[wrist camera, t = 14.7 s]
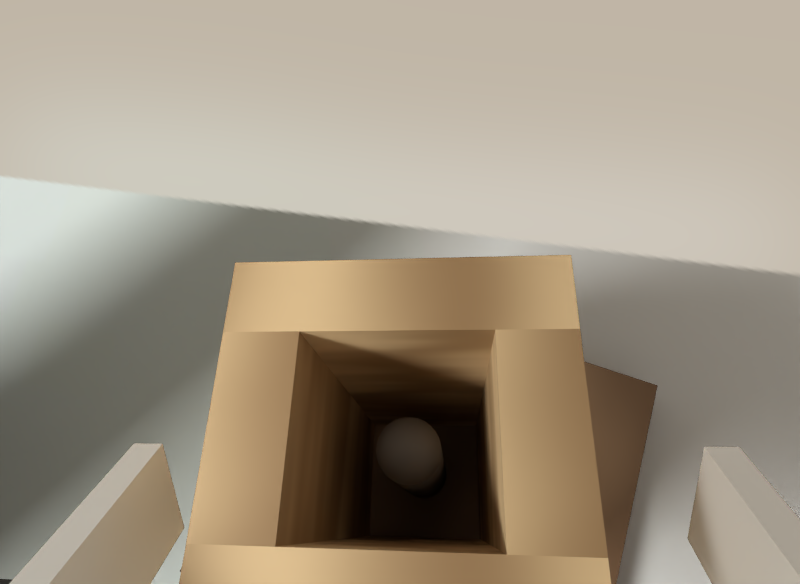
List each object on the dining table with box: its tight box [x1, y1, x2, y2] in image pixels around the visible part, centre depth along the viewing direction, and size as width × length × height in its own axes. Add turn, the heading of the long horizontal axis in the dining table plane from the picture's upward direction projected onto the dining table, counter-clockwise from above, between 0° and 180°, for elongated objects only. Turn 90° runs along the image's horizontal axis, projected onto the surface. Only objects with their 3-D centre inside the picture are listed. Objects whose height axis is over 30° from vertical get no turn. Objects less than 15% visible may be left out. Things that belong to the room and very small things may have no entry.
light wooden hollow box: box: [179, 255, 611, 584], centre depth 16 cm, size 8×8×12 cm
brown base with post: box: [180, 362, 657, 584], centre depth 18 cm, size 16×14×10 cm
